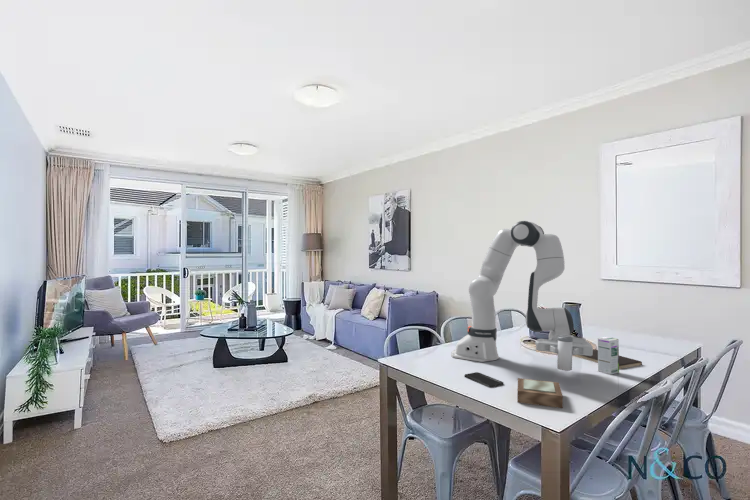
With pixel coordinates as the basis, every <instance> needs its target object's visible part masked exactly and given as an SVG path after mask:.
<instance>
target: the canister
mask: <svg viewBox="0 0 750 500" xmlns="http://www.w3.org/2000/svg"><path fill="white" fill-rule="evenodd" d="M572 342H573V338H572V337H570V336H558V354H557V361H556V363H557V364H556V365H557V366H556V367H557V369H559V370H560V371H565V372H567V371H572V370H573V355H572Z"/></svg>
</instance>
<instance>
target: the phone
mask: <svg viewBox="0 0 750 500" xmlns="http://www.w3.org/2000/svg"><path fill="white" fill-rule="evenodd" d="M464 378H466V379H468V380H470V381H473V382H475V383H478V384H480V385H482V386H484V387H487V388H496V387H500V386H504V381H501V380H499V379H496V378H494V377H491V376H489V375H486V374H484V373H481V372H478V371H476V372H471V373H465V374H464Z"/></svg>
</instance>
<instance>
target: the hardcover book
mask: <svg viewBox="0 0 750 500" xmlns="http://www.w3.org/2000/svg"><path fill="white" fill-rule="evenodd" d="M573 356H574V357H577V358H579V359H583V360H585V361H590V362H592V363H593V362H594V363H597V364H598V349H595V350H594V349H593V355H592V356H586V355H573ZM642 365H643V361H641V360H637V359H634V358H630V357H627V356H622V355H619V370H621V369H627V368H633V367H637V366H639V367H640V366H642Z"/></svg>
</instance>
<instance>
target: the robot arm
mask: <svg viewBox="0 0 750 500" xmlns="http://www.w3.org/2000/svg"><path fill="white" fill-rule="evenodd" d="M492 239H493V240H492V241H491V242H490V245H489V247H488V249H487V252H486V253H485V255H484V258H483V260H482V264H481V269H480V271H479V273H478V276H477V277H476V278H474V279H472V280H471V282H470V283H469V286H468V294H469V301H470V307H471V325H468V326H467V334H466V335H464V336H463V337H461V339H459V340H458V342H457V343H456V345H455V349H453V350H452V351H451V353H450V356H451V357H452V358H453V359H455V358H456V359H461V360H467V361H473V362H480V363H484V362H489V361H491V362H492V361H496V360H499V359H500V356H499V353H498V347H497V335H498V331H497V327H496V309H495V301H494V296H496V294H497V293H498V290H499V288H500V285H501V282H502V280H503V277H504V275H505V271H506V270H507V267H508V265H509V263H510V261H511V258H512V257H513V254H514V252H515V250H516V248H517V247H519V246H521V247H528V248H533V249H534V251H535V255H536V267H535V270H534V271H532V272H531V273H530V277H529V285H528V298H527V310H526V314H525V325H526V327H527V329H529V330H530V331H531V332H533V333H539V332H546V331H547V332H549V334H548V339H547V338H538V339H536V340H535V341H534V344H535V350H536V351H537V352H546V353H547V352H548V353H553V354H556V355H558V336H570V337H572V338H573V342H572V356H574V355H586V356H592V355H593V350H594V347H593V345H592V343H590V342H589V341H587V340H586V338H585V337H582V336H578V335H576V336H575V335H572V333H573V332H574V330H575V329H574V319H573V317H572V314H571V311H569V310H568V309H567V308H565V307H549V308H540V307H538V299H539V290H540V288H541V287H543V285H545V284H546V283H549V282H551V281H554V280H555V279H557V278H559V277H560V276H561V275H562V274H563V273H564V271H565V255H564V250H563V247H562V243H561V240H560V238H559V237H558V236H557V235H555V234H554V233H553V234H552V233H546V234H545V232H544V229H543V228H542V227H541V226H539V224H537V223H535V222H532V221H528V220H519V221H517V222H516V223H514V225H513V226H512V227H511V229H510V228H509V229H508V228H502V229H500V230H498V232H497V233H496V234H495V236H494V238H492Z"/></svg>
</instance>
